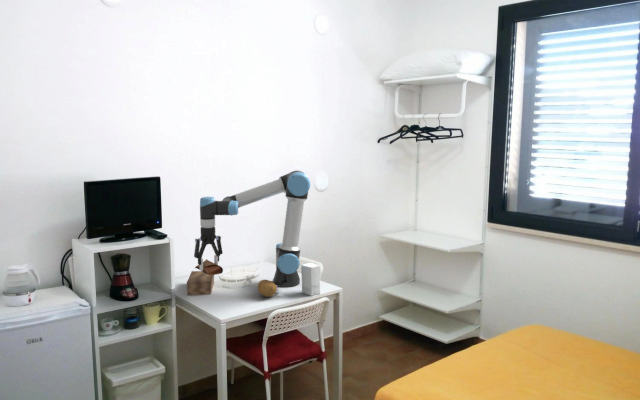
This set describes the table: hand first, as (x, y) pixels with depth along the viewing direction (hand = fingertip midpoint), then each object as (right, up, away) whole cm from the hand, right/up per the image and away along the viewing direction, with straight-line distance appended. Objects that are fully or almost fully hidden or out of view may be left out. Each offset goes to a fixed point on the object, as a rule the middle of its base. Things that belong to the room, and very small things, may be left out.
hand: (208, 269), depth 263 cm
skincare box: (+54, -14, +3) cm, 55 cm away
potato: (+31, -14, -1) cm, 34 cm away
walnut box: (-6, -12, +10) cm, 17 cm away
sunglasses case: (0, -1, 0) cm, 1 cm away
